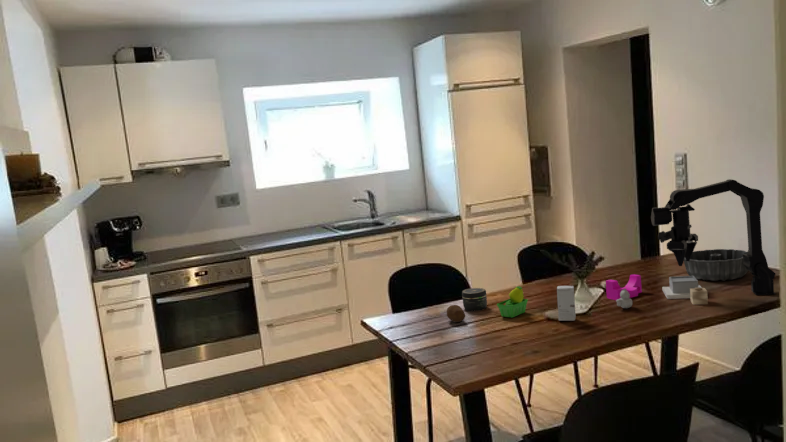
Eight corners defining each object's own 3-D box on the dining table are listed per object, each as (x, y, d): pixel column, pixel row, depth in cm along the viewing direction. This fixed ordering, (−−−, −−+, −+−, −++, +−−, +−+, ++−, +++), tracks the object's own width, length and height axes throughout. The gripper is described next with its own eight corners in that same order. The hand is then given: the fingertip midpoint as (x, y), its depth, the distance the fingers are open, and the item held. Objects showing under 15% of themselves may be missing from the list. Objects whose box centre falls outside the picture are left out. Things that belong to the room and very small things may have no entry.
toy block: (618, 301, 246) (616, 282, 245) (606, 298, 252) (605, 280, 251) (646, 294, 252) (645, 276, 251) (634, 291, 258) (633, 274, 257)
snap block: (705, 300, 233) (704, 286, 233) (708, 304, 228) (707, 289, 228) (690, 301, 235) (689, 286, 234) (693, 304, 230) (692, 290, 229)
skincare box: (558, 321, 228) (555, 288, 226) (559, 317, 232) (556, 285, 231) (576, 320, 226) (573, 288, 225) (576, 317, 230) (573, 285, 229)
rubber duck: (636, 308, 233) (635, 287, 233) (621, 311, 232) (620, 290, 231) (627, 305, 239) (625, 284, 238) (612, 308, 237) (611, 287, 236)
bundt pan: (677, 283, 264) (675, 260, 262) (688, 270, 285) (687, 248, 284) (748, 285, 248) (747, 260, 247) (755, 271, 270) (754, 248, 269)
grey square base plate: (700, 288, 250) (699, 274, 250) (707, 297, 237) (706, 281, 236) (662, 290, 254) (661, 275, 254) (667, 298, 241) (666, 283, 240)
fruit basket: (513, 309, 250) (511, 282, 249) (532, 311, 244) (530, 283, 243) (496, 316, 242) (494, 288, 241) (515, 319, 236) (513, 290, 235)
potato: (454, 325, 237) (452, 309, 237) (442, 320, 246) (441, 304, 246) (469, 321, 240) (468, 306, 239) (457, 316, 249) (455, 301, 248)
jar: (492, 306, 259) (490, 288, 258) (478, 312, 252) (476, 294, 251) (472, 304, 266) (471, 286, 265) (458, 310, 258) (456, 292, 258)
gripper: (667, 219, 250) (670, 258, 251) (651, 227, 236) (654, 267, 237) (697, 219, 242) (699, 258, 244) (682, 227, 228) (685, 268, 230)
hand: (684, 263), depth 239 cm, fingers open, 9 cm apart
